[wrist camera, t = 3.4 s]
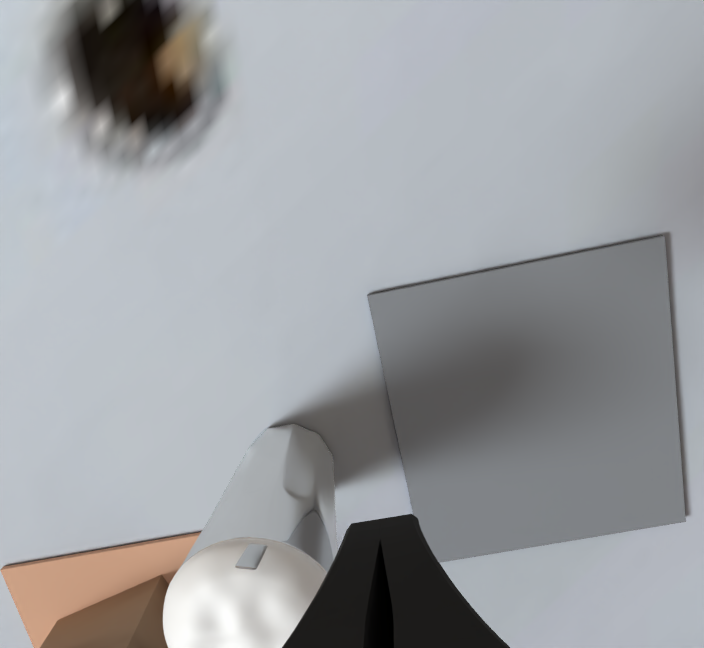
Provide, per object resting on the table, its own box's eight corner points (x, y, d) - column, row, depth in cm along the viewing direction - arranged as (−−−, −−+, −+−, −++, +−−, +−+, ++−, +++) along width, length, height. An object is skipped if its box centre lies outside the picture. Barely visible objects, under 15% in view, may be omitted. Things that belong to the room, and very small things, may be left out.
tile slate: (683, 518, 24) (685, 521, 23) (423, 561, 24) (423, 565, 24) (661, 235, 21) (664, 235, 20) (367, 294, 21) (367, 296, 21)
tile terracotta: (275, 708, 27) (274, 711, 26) (76, 737, 27) (74, 742, 27) (219, 528, 24) (218, 531, 24) (3, 566, 25) (0, 569, 25)
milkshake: (359, 392, 22) (355, 579, 13) (344, 520, 24) (330, 773, 14) (234, 379, 22) (136, 555, 13) (226, 508, 24) (134, 753, 14)
